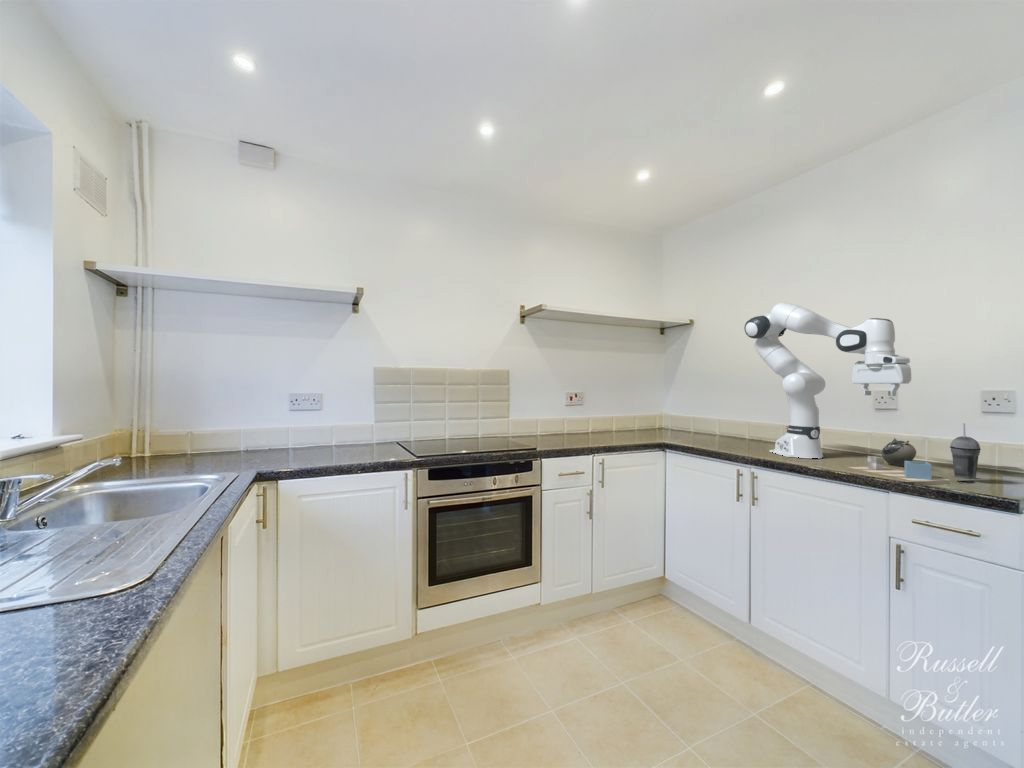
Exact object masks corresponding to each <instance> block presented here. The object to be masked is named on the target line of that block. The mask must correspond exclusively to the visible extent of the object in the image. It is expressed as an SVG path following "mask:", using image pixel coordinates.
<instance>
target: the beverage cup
mask: <svg viewBox="0 0 1024 768" xmlns="http://www.w3.org/2000/svg"><path fill="white" fill-rule="evenodd" d="M962 431H963V432H962V435H963V436H957V437H956V438H953V440H952V441H951V442H950V446H949V448H950V452H951V457H952V467H953V473H954V477H955V478H959V479H965V480H958V481H959V483H964V482H965V483H966V484H975V483H976V480H975V479H976V477H977V471H978V469H977V468H978V462H979V456H980V454H981V450H982V449H981V446H980V443H979V442H978V441H977V440H976V439H974V438H972V437H971V436H966V423H962ZM966 479H968V480H966Z"/></svg>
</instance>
